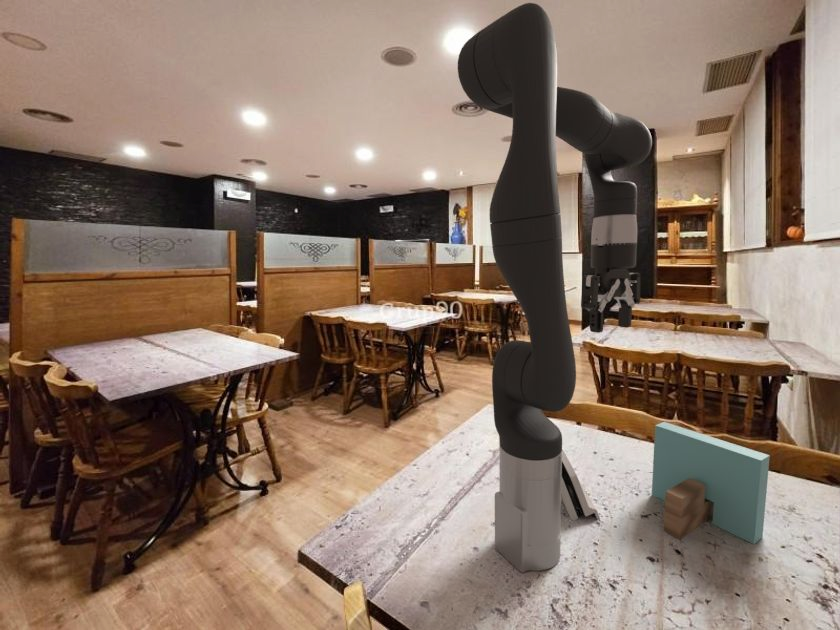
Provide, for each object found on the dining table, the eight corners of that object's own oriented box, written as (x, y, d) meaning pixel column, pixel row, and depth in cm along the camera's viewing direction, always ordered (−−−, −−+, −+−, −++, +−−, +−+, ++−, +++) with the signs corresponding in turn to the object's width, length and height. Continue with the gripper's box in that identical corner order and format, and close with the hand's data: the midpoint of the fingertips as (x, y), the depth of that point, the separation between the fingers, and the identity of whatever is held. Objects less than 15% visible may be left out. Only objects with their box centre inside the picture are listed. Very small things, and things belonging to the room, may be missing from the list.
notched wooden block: (679, 539, 63) (681, 498, 63) (663, 530, 66) (665, 491, 65) (736, 499, 73) (739, 464, 73) (721, 492, 76) (723, 458, 75)
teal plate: (651, 494, 76) (655, 425, 74) (660, 489, 77) (664, 421, 75) (754, 544, 62) (761, 460, 60) (762, 537, 63) (769, 455, 62)
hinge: (601, 520, 69) (582, 469, 68) (574, 528, 69) (555, 478, 68) (571, 470, 85) (556, 429, 84) (550, 477, 86) (535, 436, 85)
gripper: (618, 243, 79) (615, 323, 81) (570, 243, 72) (568, 331, 74) (656, 241, 72) (652, 328, 74) (608, 240, 65) (605, 336, 67)
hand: (610, 329), depth 74 cm, fingers open, 8 cm apart
